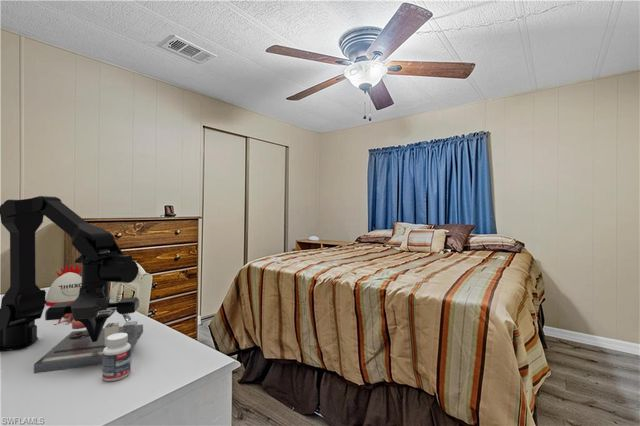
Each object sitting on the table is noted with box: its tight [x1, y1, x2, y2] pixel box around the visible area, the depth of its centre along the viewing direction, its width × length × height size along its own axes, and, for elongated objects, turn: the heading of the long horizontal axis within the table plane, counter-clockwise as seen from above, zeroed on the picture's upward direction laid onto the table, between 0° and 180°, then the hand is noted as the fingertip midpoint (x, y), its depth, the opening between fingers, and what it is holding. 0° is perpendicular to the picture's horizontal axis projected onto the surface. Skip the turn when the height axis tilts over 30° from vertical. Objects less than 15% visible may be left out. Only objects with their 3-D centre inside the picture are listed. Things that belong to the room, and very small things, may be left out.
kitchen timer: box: [45, 263, 82, 307], centre depth 124 cm, size 14×14×15 cm
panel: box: [33, 320, 144, 374], centre depth 82 cm, size 18×20×4 cm
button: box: [71, 319, 86, 330], centre depth 86 cm, size 4×4×2 cm
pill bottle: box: [101, 333, 132, 382], centre depth 69 cm, size 5×5×9 cm
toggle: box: [121, 313, 132, 323], centre depth 89 cm, size 2×2×5 cm
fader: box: [104, 322, 120, 346], centre depth 80 cm, size 2×3×5 cm
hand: (95, 341), depth 78 cm, fingers closed
